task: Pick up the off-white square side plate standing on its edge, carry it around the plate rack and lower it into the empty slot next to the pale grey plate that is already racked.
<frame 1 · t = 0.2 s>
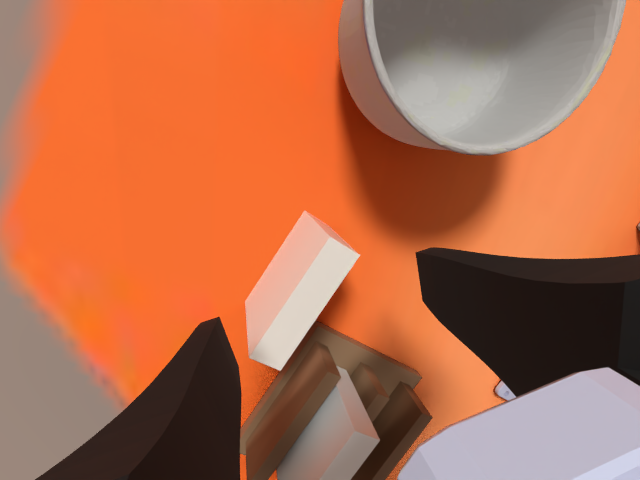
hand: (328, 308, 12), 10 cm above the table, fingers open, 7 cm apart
teacup: (419, 29, 20), on the table
plate: (286, 263, 22), on the table
racked plate: (309, 404, 24), point 1 cm above the table, touching rack
rack: (328, 404, 26), on the table
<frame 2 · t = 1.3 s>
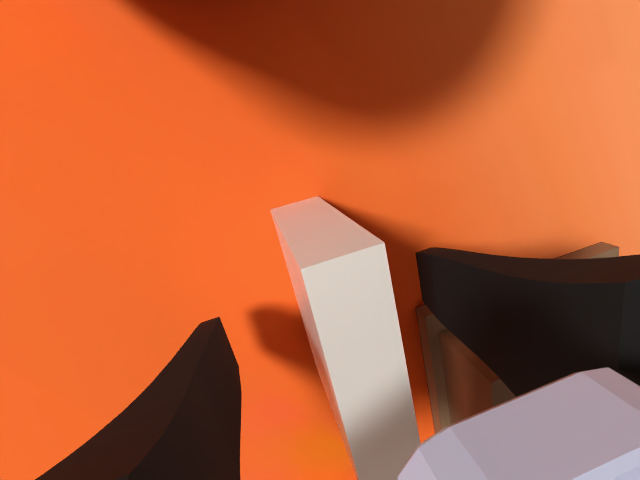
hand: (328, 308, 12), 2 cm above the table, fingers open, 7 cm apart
plate: (316, 285, 14), on the table
rack: (516, 367, 17), on the table
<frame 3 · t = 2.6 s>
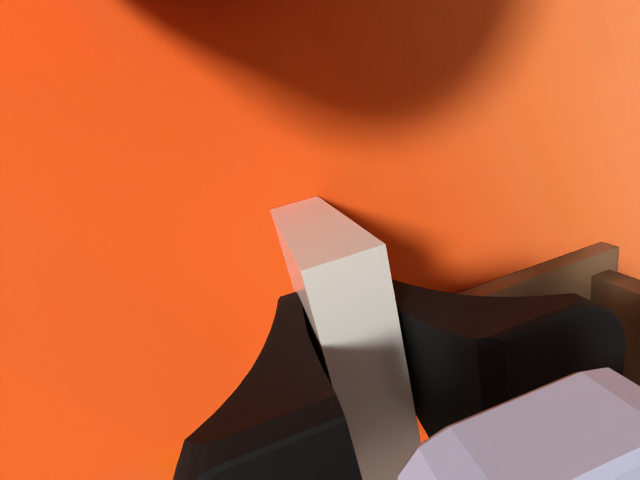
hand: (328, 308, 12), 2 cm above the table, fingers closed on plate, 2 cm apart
plate: (316, 286, 13), on the table, touching gripper
rack: (516, 367, 17), on the table
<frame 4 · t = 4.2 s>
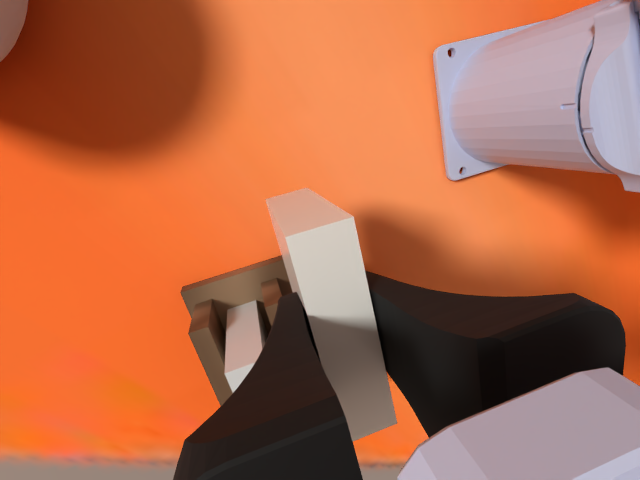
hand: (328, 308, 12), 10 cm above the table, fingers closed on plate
plate: (306, 268, 15), point 6 cm above the table, touching gripper
racked plate: (258, 350, 22), point 1 cm above the table, touching rack
rack: (286, 333, 23), on the table
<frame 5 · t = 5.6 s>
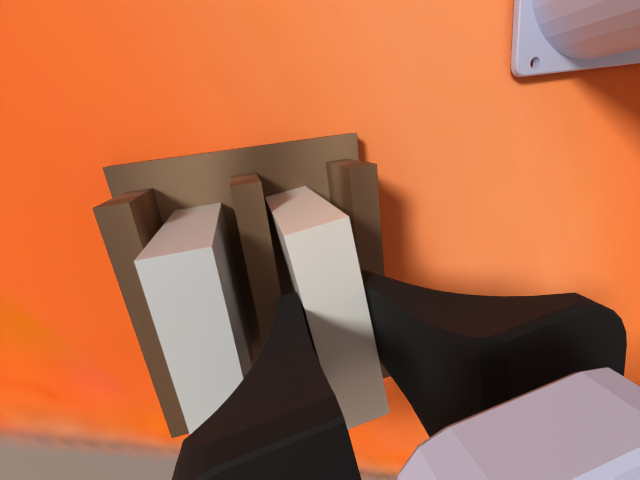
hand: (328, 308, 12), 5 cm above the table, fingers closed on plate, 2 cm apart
plate: (304, 264, 16), point 1 cm above the table, touching gripper, rack
racked plate: (217, 283, 15), point 1 cm above the table, touching rack
rack: (261, 267, 16), on the table
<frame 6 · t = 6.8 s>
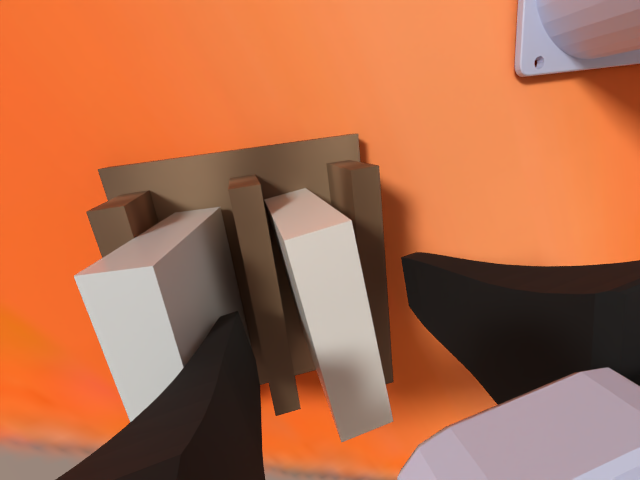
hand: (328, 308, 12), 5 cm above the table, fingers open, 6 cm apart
plate: (305, 268, 15), point 1 cm above the table, touching rack
racked plate: (217, 289, 14), point 1 cm above the table, tilted 12°, touching gripper, rack
rack: (260, 271, 16), on the table
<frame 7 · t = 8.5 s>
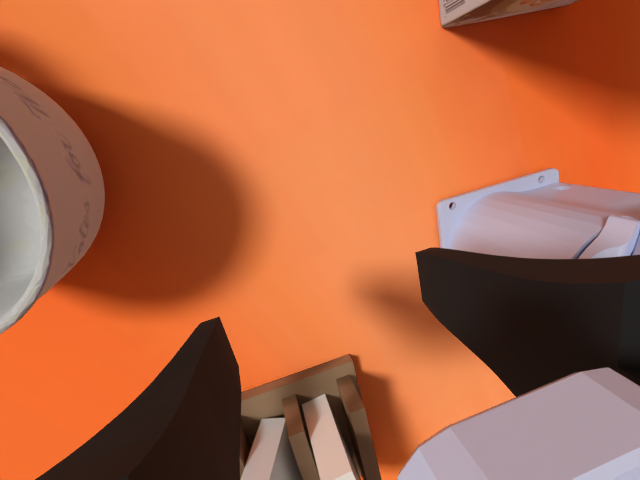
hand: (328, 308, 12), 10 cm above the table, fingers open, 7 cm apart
plate: (328, 432, 25), point 1 cm above the table, touching rack
racked plate: (286, 454, 24), point 1 cm above the table, tilted 22°, touching rack
rack: (301, 434, 26), on the table
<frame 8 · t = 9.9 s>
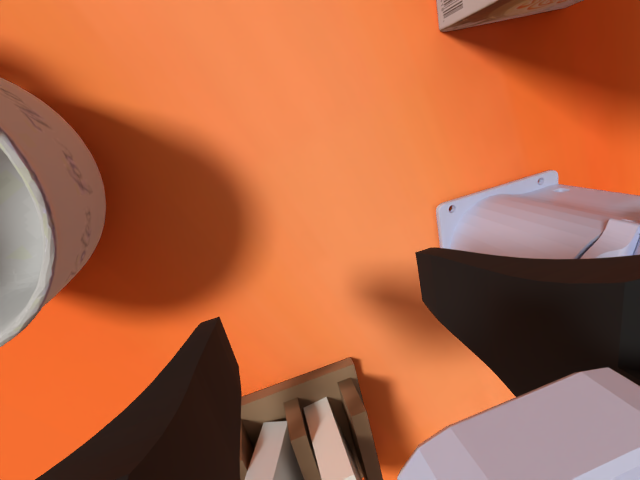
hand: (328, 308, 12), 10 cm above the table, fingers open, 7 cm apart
plate: (330, 435, 25), point 1 cm above the table, touching rack
racked plate: (288, 456, 25), point 1 cm above the table, tilted 22°, touching rack
rack: (303, 436, 26), on the table
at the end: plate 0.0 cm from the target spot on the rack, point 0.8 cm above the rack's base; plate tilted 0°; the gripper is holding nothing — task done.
